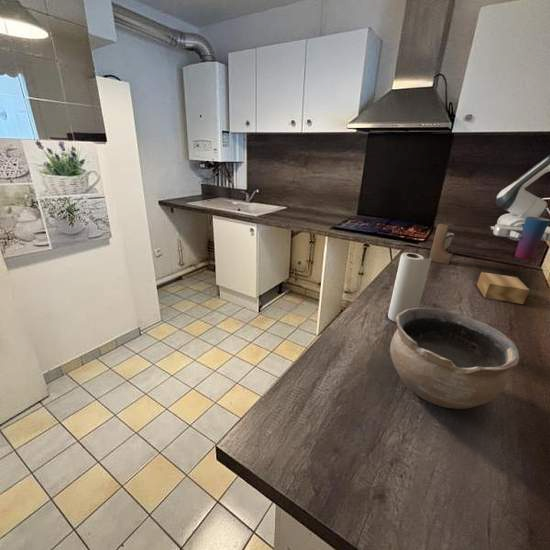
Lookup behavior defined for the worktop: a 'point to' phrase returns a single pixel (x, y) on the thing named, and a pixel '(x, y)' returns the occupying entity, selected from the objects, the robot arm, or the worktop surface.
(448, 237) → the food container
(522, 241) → the cup
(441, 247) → the wooden block
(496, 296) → the riser
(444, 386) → the ceramic bowl
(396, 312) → the paper towel roll
